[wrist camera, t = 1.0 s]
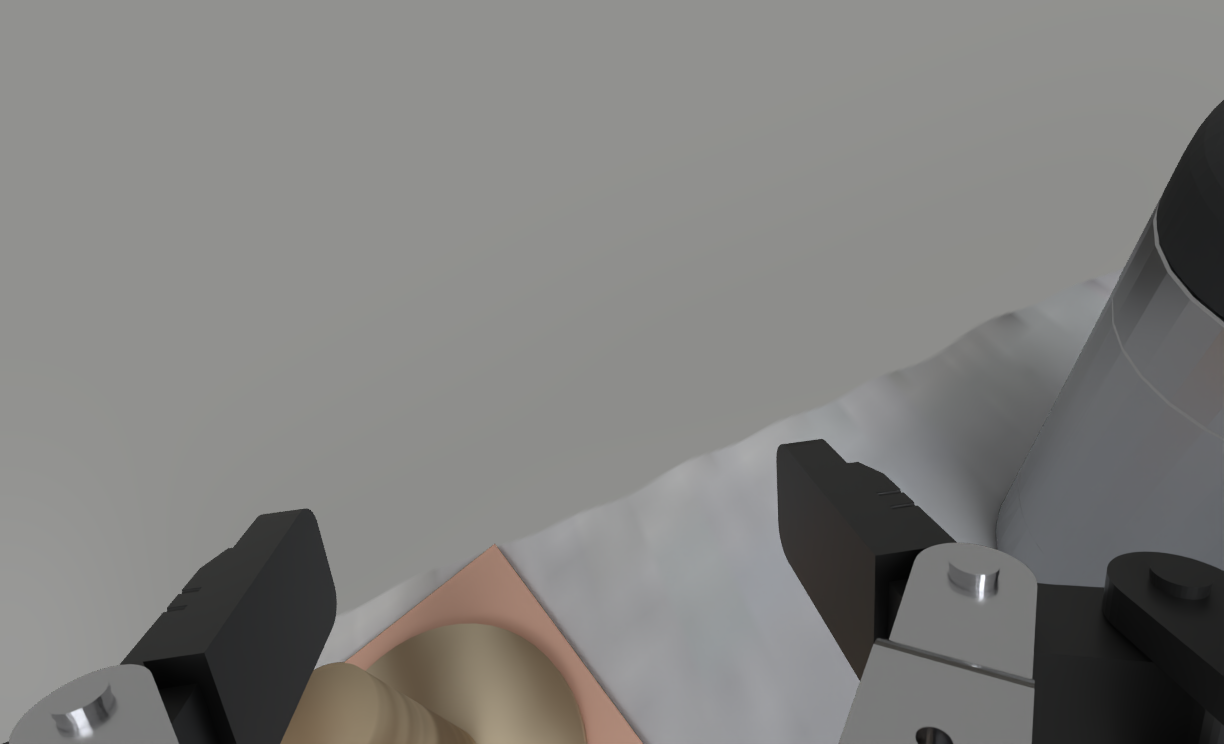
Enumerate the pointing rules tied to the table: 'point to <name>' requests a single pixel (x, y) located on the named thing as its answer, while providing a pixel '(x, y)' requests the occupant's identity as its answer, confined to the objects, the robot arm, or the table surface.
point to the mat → (507, 603)
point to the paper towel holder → (442, 695)
